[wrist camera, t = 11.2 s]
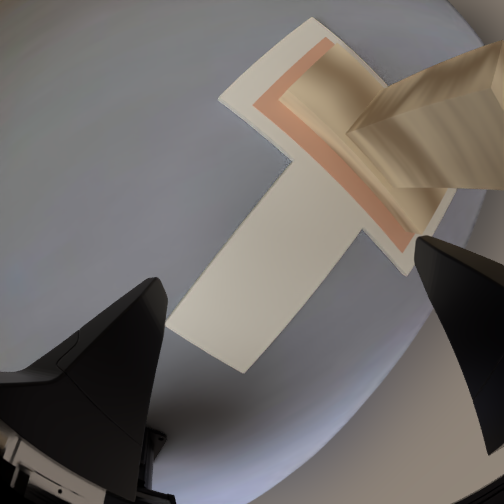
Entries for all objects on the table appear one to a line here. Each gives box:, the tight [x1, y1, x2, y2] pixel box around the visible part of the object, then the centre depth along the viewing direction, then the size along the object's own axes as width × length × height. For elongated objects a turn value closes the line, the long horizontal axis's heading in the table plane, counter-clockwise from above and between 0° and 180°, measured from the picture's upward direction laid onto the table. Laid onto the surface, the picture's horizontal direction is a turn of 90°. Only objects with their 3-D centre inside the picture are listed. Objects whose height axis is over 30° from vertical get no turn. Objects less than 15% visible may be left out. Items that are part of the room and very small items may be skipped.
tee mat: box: [165, 17, 457, 374], centre depth 19 cm, size 25×20×1 cm
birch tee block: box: [279, 40, 504, 235], centre depth 12 cm, size 6×14×13 cm, turn 51°
